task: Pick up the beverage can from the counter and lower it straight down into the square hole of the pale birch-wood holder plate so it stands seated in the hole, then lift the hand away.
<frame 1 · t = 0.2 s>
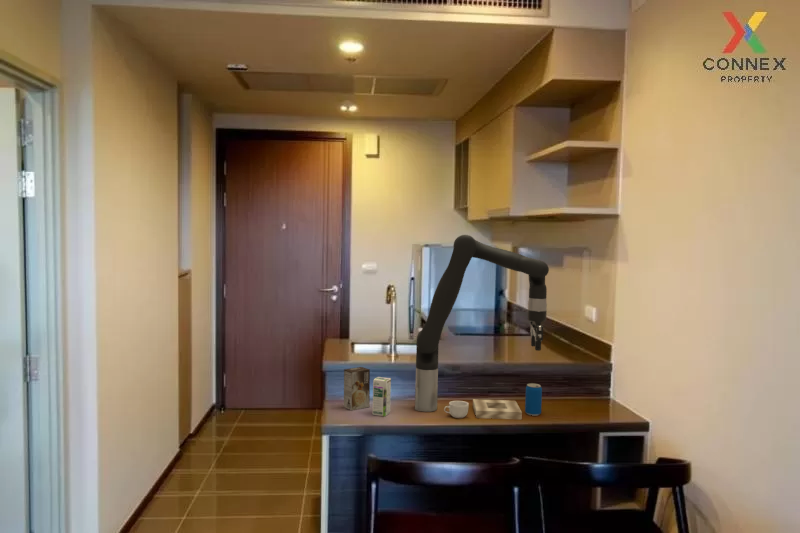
hand: (535, 348, 238), 27 cm above the table, tool pointing down, fingers open, 8 cm apart
syrup box: (381, 414, 234), on the table
teacup: (455, 417, 233), on the table
holder plate: (496, 412, 239), on the table
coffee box: (356, 407, 242), on the table
beverage can: (533, 414, 238), on the table
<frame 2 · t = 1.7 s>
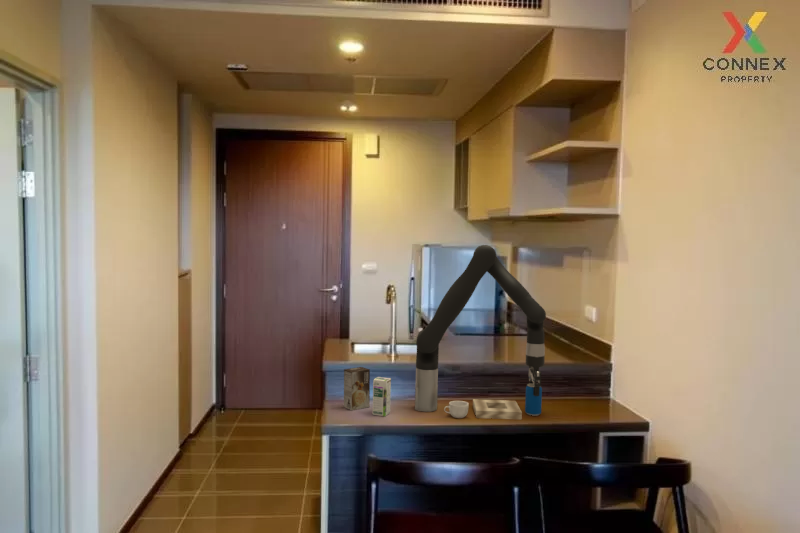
hand: (534, 392, 238), 9 cm above the table, tool pointing down, fingers open, 8 cm apart
nothing on the table moved.
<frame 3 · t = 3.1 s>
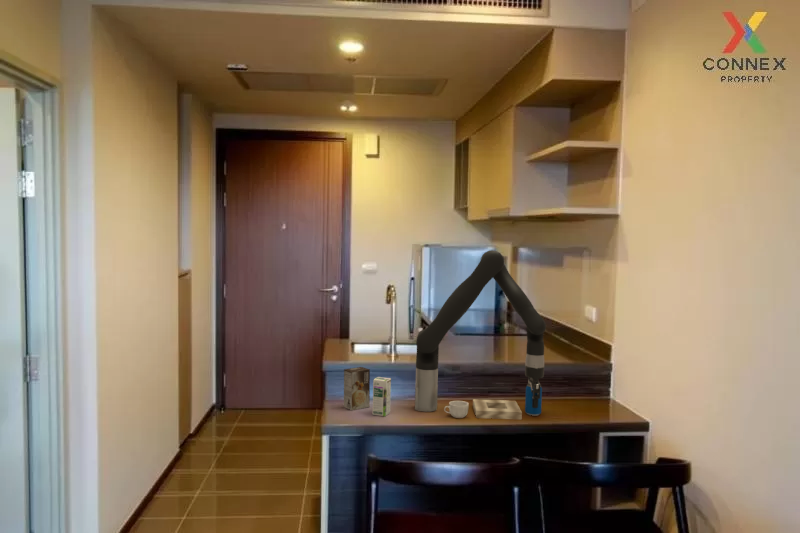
hand: (533, 405, 238), 4 cm above the table, tool pointing down, fingers closed on beverage can, 6 cm apart
beverage can: (533, 414, 238), on the table, touching gripper
everything else where it was.
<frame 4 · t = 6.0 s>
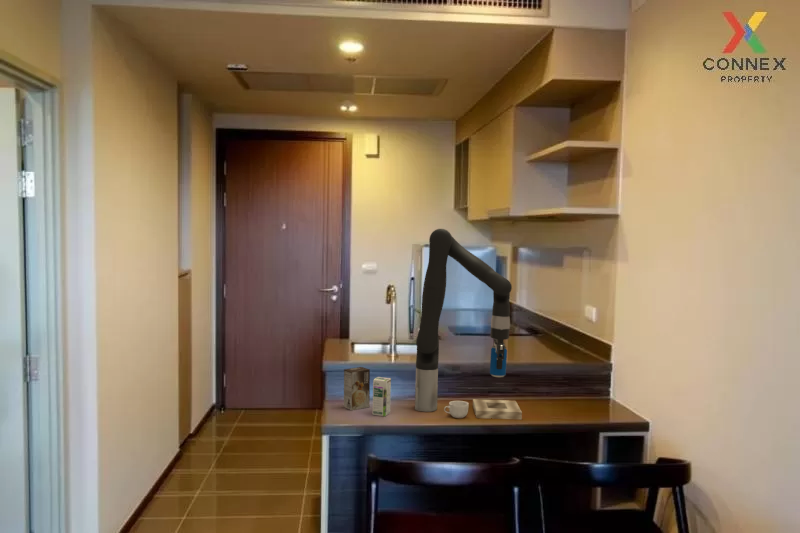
hand: (498, 366, 238), 19 cm above the table, tool pointing down, fingers closed on beverage can, 6 cm apart
beverage can: (497, 376, 238), point 15 cm above the table, touching gripper
everything else where it was.
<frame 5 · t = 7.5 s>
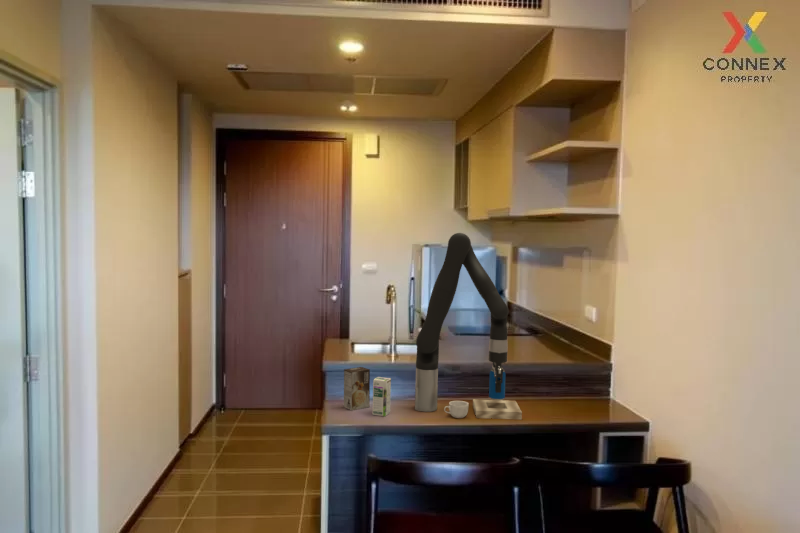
hand: (496, 389, 238), 9 cm above the table, tool pointing down, fingers closed on beverage can, 6 cm apart
beverage can: (496, 399, 239), point 6 cm above the table, touching gripper
everything else where it was.
when the fingers open (5 cm above the table, at t = 8.9 s): beverage can drops 1 cm, resting in holder plate.
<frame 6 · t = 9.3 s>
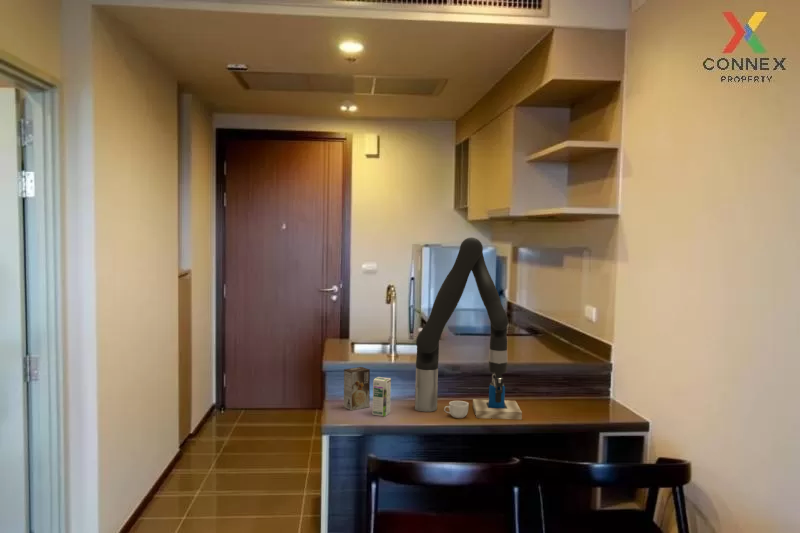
hand: (496, 399, 239), 6 cm above the table, tool pointing down, fingers open, 8 cm apart
beverage can: (496, 413, 239), resting in holder plate
everything else where it was.
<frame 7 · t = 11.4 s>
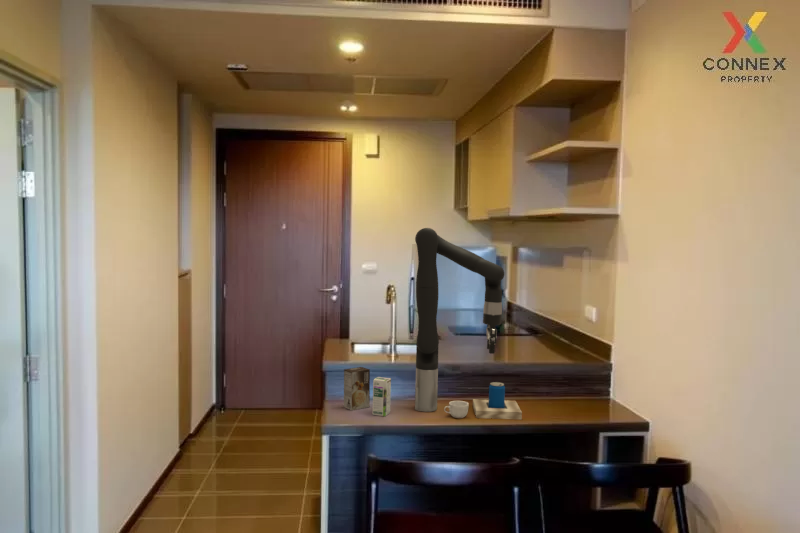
hand: (490, 351, 241), 25 cm above the table, tool pointing down, fingers open, 8 cm apart
nothing on the table moved.
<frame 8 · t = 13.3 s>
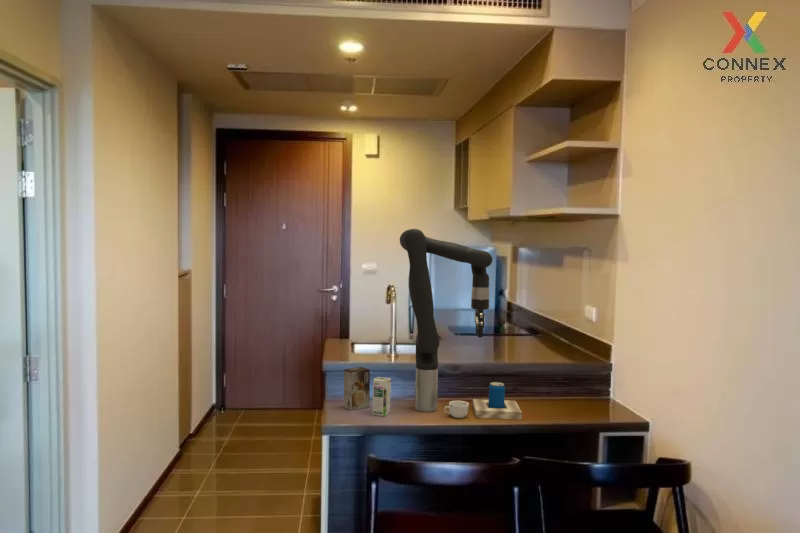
hand: (479, 335, 247), 30 cm above the table, tool pointing down, fingers open, 8 cm apart
nothing on the table moved.
at the end: beverage can 0.0 cm off-centre on the holder plate, point 0.0 cm above the holder plate's base; beverage can tilted 0°; the gripper is holding nothing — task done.
